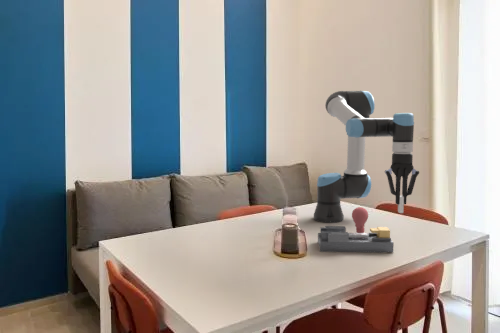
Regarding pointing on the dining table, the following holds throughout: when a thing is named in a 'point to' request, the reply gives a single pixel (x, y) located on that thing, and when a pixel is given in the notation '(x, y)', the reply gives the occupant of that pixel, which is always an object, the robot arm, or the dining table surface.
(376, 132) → the robot arm
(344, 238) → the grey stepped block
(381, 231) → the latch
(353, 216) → the light bulb
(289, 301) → the dining table surface
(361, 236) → the light grey flat bar
